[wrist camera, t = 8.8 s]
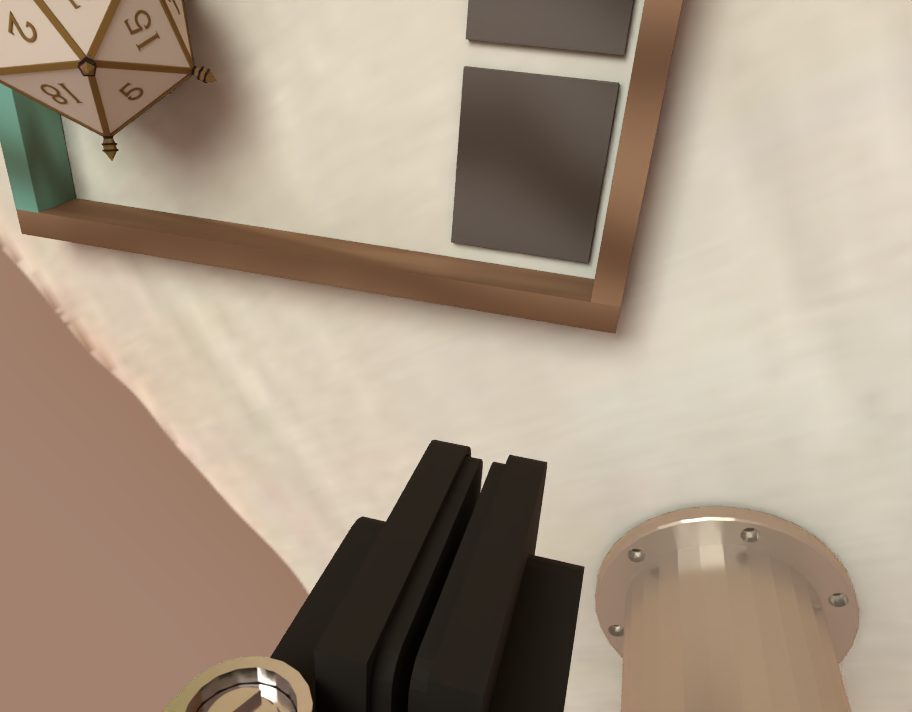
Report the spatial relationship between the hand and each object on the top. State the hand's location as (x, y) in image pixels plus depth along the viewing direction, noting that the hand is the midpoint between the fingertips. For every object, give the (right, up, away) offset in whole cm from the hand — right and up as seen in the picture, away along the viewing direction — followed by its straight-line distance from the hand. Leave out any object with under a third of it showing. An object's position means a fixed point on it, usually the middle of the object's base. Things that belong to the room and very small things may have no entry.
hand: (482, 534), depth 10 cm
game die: (-13, +17, +20) cm, 29 cm away
